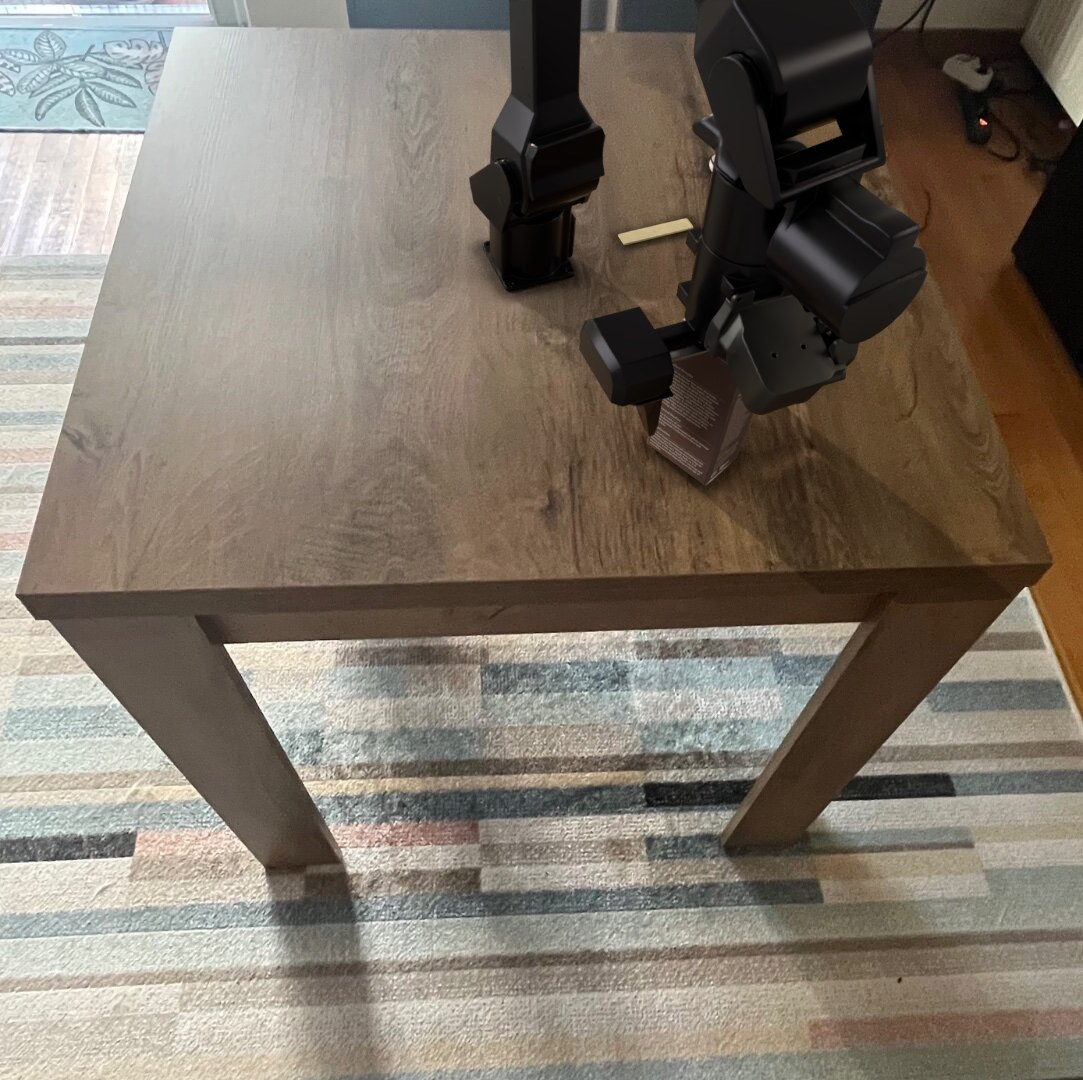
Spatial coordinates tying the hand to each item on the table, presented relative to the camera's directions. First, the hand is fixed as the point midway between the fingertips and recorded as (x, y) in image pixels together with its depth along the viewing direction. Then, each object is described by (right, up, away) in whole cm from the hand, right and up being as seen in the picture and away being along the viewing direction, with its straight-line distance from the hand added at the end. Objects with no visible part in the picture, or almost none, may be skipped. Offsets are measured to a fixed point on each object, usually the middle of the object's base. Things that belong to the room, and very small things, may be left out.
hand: (705, 414), depth 68 cm
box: (0, -2, +4) cm, 5 cm away
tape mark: (-1, +19, +18) cm, 26 cm away
